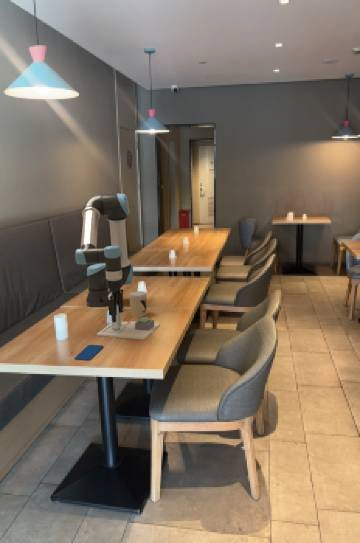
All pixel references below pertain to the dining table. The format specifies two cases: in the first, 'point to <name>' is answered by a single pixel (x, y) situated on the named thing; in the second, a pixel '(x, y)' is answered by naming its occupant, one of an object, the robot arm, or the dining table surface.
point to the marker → (118, 320)
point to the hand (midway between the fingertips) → (117, 326)
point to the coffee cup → (138, 303)
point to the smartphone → (89, 352)
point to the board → (130, 330)
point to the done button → (144, 320)
